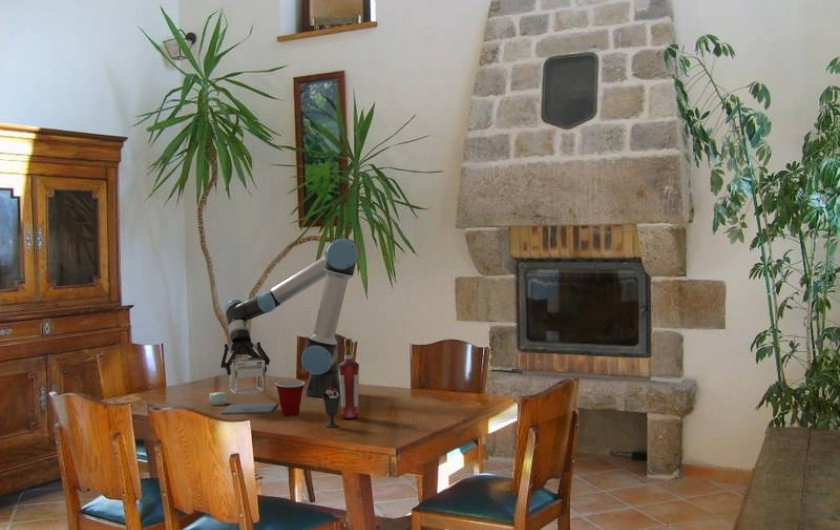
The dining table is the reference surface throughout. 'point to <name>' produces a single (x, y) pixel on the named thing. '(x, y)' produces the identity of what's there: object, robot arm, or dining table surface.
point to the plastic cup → (290, 396)
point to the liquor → (349, 383)
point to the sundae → (331, 405)
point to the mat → (249, 408)
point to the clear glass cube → (248, 373)
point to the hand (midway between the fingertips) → (248, 379)
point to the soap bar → (217, 398)
